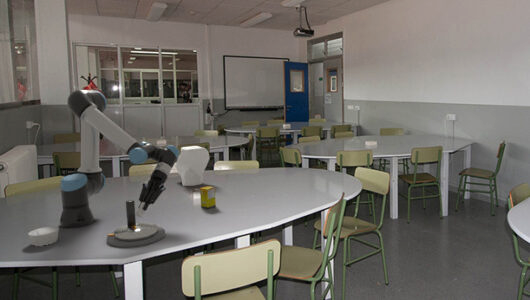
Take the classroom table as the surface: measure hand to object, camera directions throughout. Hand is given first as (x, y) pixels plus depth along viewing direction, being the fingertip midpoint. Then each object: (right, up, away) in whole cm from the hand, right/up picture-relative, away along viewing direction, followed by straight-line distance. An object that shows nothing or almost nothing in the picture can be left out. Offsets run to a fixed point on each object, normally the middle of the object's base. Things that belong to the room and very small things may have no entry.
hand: (138, 215), depth 178 cm
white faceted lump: (+7, +7, +101) cm, 102 cm away
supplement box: (+27, -1, +37) cm, 45 cm away
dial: (+2, -6, -9) cm, 11 cm away
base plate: (+2, -8, -9) cm, 12 cm away
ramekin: (-35, -9, -13) cm, 39 cm away
